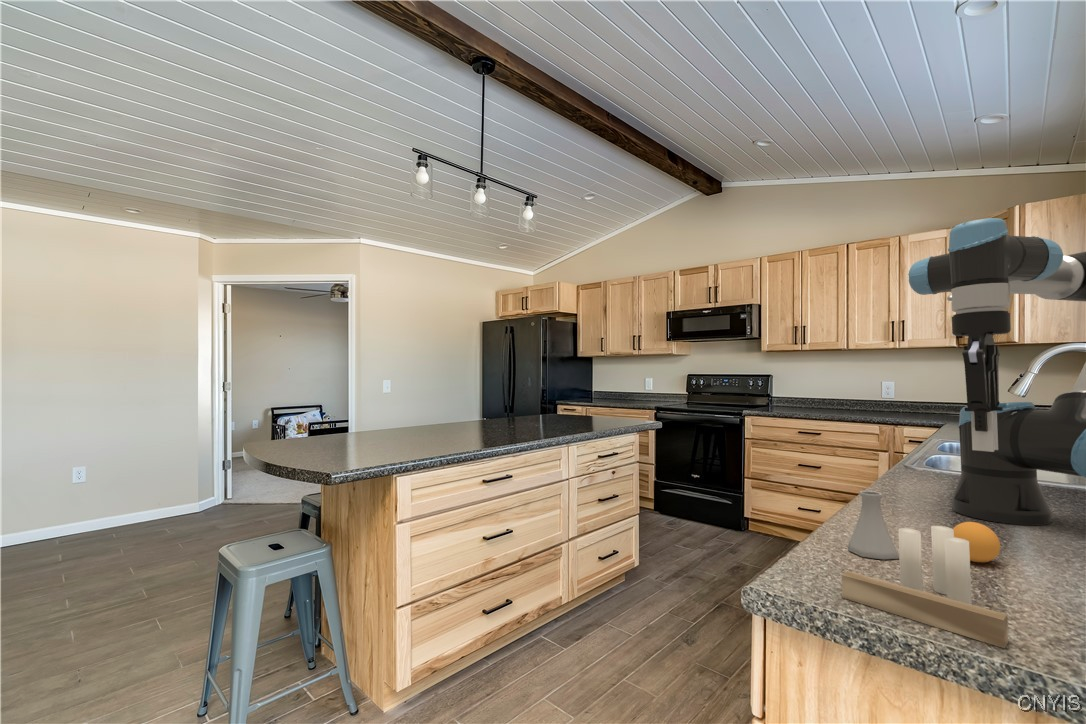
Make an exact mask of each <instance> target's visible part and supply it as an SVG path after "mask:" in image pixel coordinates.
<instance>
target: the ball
mask: <svg viewBox="0 0 1086 724" xmlns="http://www.w3.org/2000/svg"><path fill="white" fill-rule="evenodd" d="M952 529H953V530H954V537H956V538H961V539H965V540H967V541H969V552H970V562H973V563H974V562H975V563H988V562H991V561H994V559H995V558H997V557H998V555H999V554H1000V552H1001V542H1000V539H999V536H997V534H996V533H995V532H994V530H992V529H991V528H989V526H986V525H984V524H982V523H980V522H975V521H965V522H961V523H960V522H959V524H957V525H956V526H954V527H953V528H952Z"/></svg>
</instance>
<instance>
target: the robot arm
mask: <svg viewBox="0 0 1086 724" xmlns="http://www.w3.org/2000/svg"><path fill="white" fill-rule="evenodd" d="M948 236H949V241H948V249H947V251H948V253H944V254H939V255H935V256H929V257H927V258H923V259H919V260H917V261H915V262H914V263H912V265H911V266H910V268H909V271H908V283H909V285H910V288H911V290H913V291H914V293H916V294H918V295H922V296H925V295H926V296H927V295H937V294H941V293H951V294H950V295H948V296H947V297H946V299H947V301H948V302H951V311H952V312H954V313H956V314H953V315H952V316H951V329H952V330H951V331H952V332H951V333H952V335H953V336H954V337H955V336H956V337H967V342H966V343H967V345H966V346H965V345H964V346H963V350H962V352H961V354H962V359H963V363H964V375H965V387H966V389H965V390H966V405H965V406H963V407H962V408H961V409H960V411H959V421H958V425H957V427H958V429H959V430H958V431H959V451H960V453H959V454H960V455H959V456H960V470H961V471H960V476H959V479H958V481H957V484H956V487H955V489H954V492H953V495H952V497H951V509H952V510H953V512H955V513H957V514H961V515H962V516H963V515H964V516H967V517H971V518H974V519H978V520H984V521H990V522H996V523H1002V524H1012V525H1024V526H1025V525H1026V526H1028V525H1029V526H1039V525H1048V524H1051V523H1052V510H1051V508H1050V505H1049V503H1048V501H1047V498H1045V495H1044V493H1043V490H1042V489H1041V487H1040V484H1039V482H1038V472H1037V471H1044V472H1049V473H1050V472H1052V473H1056V474H1063V475H1070V476H1076V477H1077V476H1078V477H1083V478H1086V361H1085V363H1084V364H1083V367H1082V369H1081V371H1080V372H1079V375H1078V377H1077V379H1076V381H1075V383H1074V385H1073V387H1072V390H1070V391H1069V390H1068V391H1065V392H1062V393H1060V394H1057V396H1056V397H1055V398H1054V401H1053V403H1052V405H1051V407H1050V408H1049V409H1037V408H1036V406H1035V404H1034V402H1032V401H1018V402H1017V401H1014V402H1000V397H999V395H1000V391H999V389H1000V388H999V383H1000V382H999V380H1000V379H999V378H1000V377H999V364H1000V363H999V360H1000V355H1001V354H1000V346H999V345H995V338H994V335H1006V334H1008V333H1010V332H1011V330H1012V328H1011V326H1012V325H1011V313H1010V312H1009V311H1007V310H1006V309H1008V308H1010V307H1011V295H1010V294H1013V295H1015V294H1016V295H1017V294H1018V295H1035V296H1037V297H1038V298H1041V299H1045V300H1050V301H1052V300H1053V301H1055V300H1056V301H1070V302H1071V301H1073V302H1085V303H1086V251H1082V252H1078V253H1073V254H1067V255H1066V254H1064V252H1063V249H1062V248H1061V247H1062V246H1060V244H1058V243H1057V242H1056V241H1054V240H1051V239H1048V238H1042V237H1040V236H1034V235H1033V236H1022V235H1010V234H1009V230H1008V227H1007V222H1006V221H1005V220H1004V219H1002V218H1000V217H999V218H998V217H989V218H988V217H986V218H980V219H979V218H978V219H973V220H970V221H966V222H963V223H959V224H957V225H955V226H954V227H952V228H951V229H950V231H949V235H948Z"/></svg>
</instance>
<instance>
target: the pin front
mask: <svg viewBox="0 0 1086 724" xmlns="http://www.w3.org/2000/svg"><path fill="white" fill-rule="evenodd" d="M930 532H931V533H930V534H931V557H932V559H931V561H932V563H931V564H932V566H931V567H932V589H933V591H934V592H935V593H938V594H941V595H945V596H947V592H946V564H945V537H954V530H953V528H951V527H948V526H944V525H931V526H930Z"/></svg>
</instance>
